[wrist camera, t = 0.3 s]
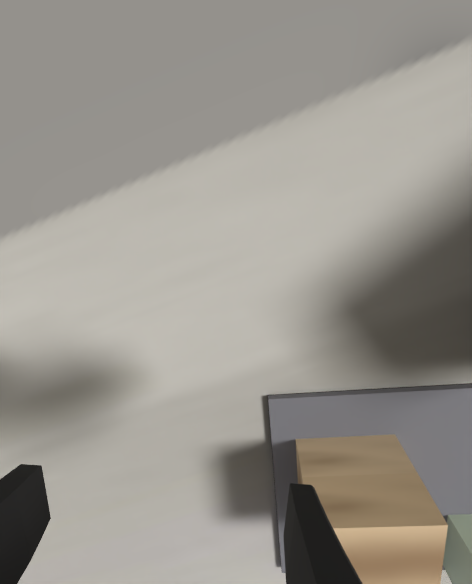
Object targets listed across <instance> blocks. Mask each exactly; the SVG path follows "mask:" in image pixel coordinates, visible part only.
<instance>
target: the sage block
mask: <svg viewBox="0 0 472 584" xmlns="http://www.w3.org/2000/svg"><path fill="white" fill-rule="evenodd" d="M447 524H448V529H447V537H446V544H445V551H444V559H443V566H444V568H445V570H446V572H447V574H448V576H449V578H450V580H451V582H452V584H472V514H462V515H448V518H447Z"/></svg>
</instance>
